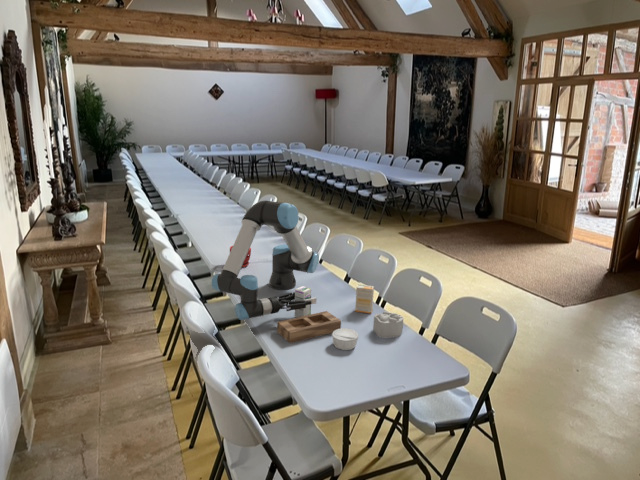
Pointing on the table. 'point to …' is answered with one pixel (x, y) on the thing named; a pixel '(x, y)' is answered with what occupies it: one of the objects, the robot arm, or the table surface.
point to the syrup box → (302, 295)
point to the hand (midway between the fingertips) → (311, 297)
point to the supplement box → (364, 298)
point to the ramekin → (345, 338)
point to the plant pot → (245, 258)
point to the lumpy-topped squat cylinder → (388, 324)
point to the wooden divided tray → (308, 326)
